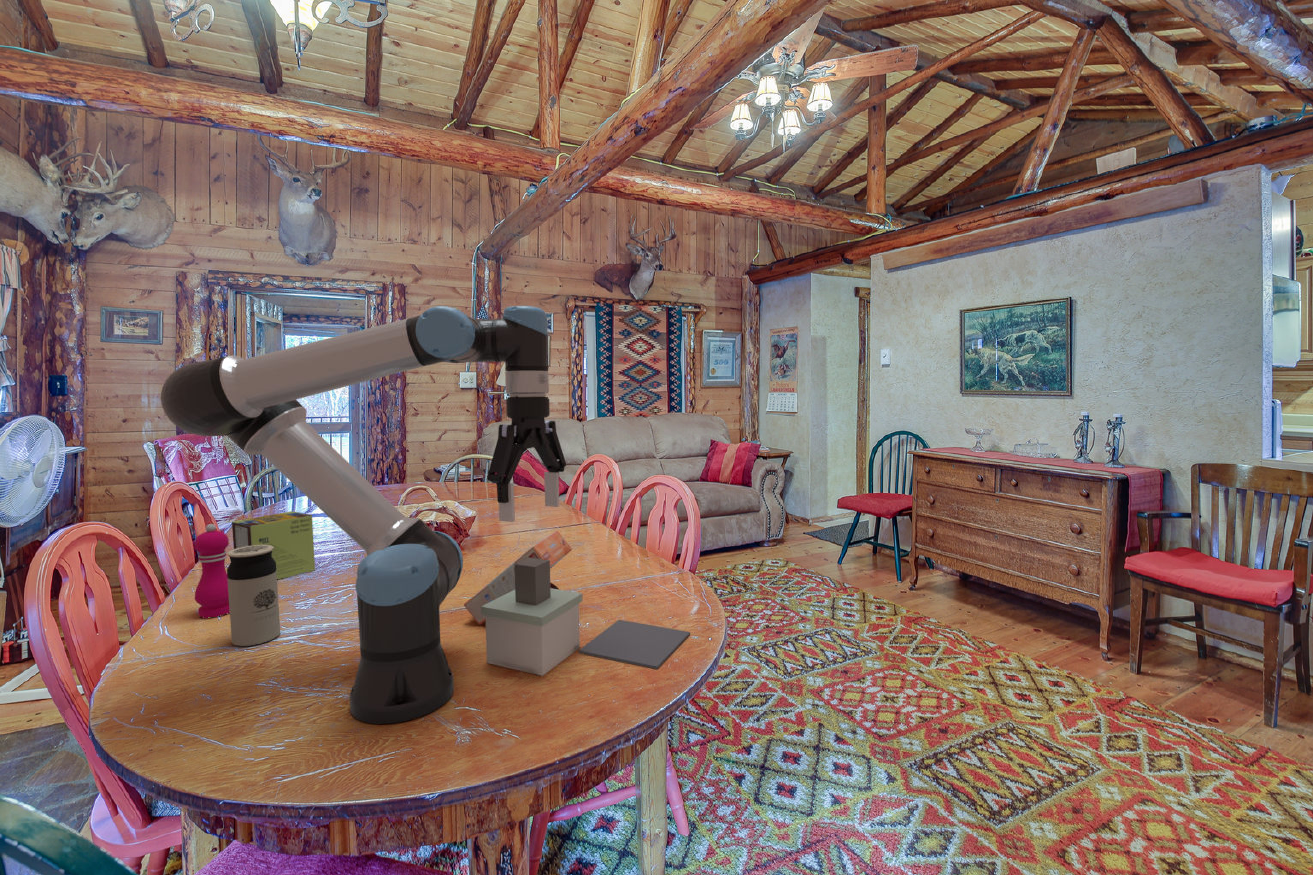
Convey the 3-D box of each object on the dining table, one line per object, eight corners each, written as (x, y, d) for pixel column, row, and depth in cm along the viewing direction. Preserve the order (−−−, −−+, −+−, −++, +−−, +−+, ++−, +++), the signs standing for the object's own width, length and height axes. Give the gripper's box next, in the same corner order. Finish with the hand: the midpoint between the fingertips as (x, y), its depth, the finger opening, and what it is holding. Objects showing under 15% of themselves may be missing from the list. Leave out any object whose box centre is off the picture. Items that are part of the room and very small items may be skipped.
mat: (657, 669, 103) (657, 666, 103) (578, 652, 110) (578, 650, 110) (690, 634, 118) (690, 631, 118) (619, 621, 124) (619, 619, 124)
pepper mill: (240, 612, 131) (234, 523, 129) (199, 622, 126) (193, 529, 124) (232, 604, 136) (226, 518, 134) (192, 613, 131) (186, 524, 129)
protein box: (316, 570, 161) (313, 514, 160) (253, 586, 148) (249, 525, 147) (296, 564, 167) (293, 510, 166) (234, 579, 154) (230, 521, 153)
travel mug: (226, 639, 117) (220, 550, 115) (272, 627, 123) (267, 542, 121) (239, 651, 112) (233, 557, 110) (286, 637, 118) (281, 548, 116)
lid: (542, 631, 100) (541, 577, 99) (481, 620, 105) (479, 567, 104) (582, 606, 112) (581, 556, 111) (526, 596, 117) (524, 549, 116)
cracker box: (479, 627, 123) (550, 567, 118) (461, 605, 123) (531, 544, 119) (509, 603, 136) (574, 548, 132) (493, 583, 137) (557, 528, 132)
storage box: (542, 675, 101) (541, 624, 100) (486, 662, 106) (485, 614, 105) (579, 647, 112) (578, 601, 111) (527, 637, 117) (526, 592, 116)
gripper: (499, 396, 92) (503, 530, 94) (582, 394, 115) (584, 502, 117) (461, 396, 95) (466, 526, 97) (549, 394, 118) (552, 499, 120)
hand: (530, 513), depth 107 cm, fingers open, 13 cm apart
